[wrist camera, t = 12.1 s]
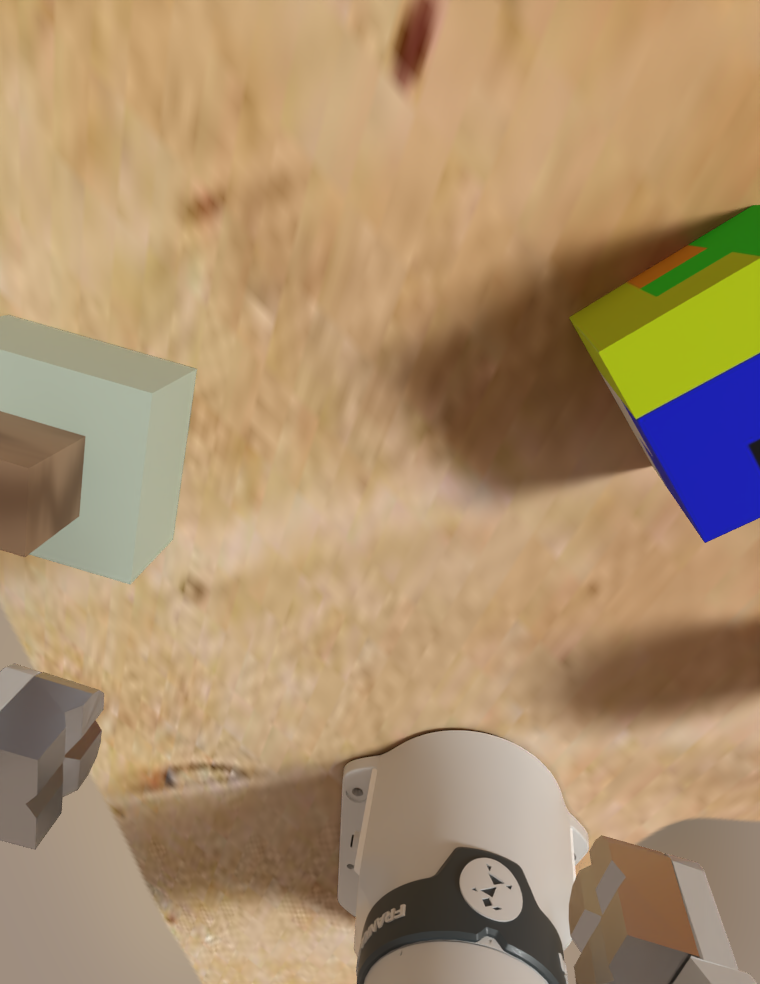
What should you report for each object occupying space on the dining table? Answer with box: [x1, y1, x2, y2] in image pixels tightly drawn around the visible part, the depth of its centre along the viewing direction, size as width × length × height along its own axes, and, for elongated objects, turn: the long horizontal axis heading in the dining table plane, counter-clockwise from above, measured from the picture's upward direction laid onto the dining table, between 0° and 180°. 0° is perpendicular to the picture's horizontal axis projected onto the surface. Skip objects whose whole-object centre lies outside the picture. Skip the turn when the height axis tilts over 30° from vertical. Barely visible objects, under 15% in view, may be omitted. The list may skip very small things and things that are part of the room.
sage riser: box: [0, 315, 197, 584], centre depth 40 cm, size 12×12×6 cm
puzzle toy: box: [569, 205, 760, 543], centre depth 32 cm, size 10×10×10 cm
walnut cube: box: [0, 411, 86, 557], centre depth 35 cm, size 5×5×5 cm
